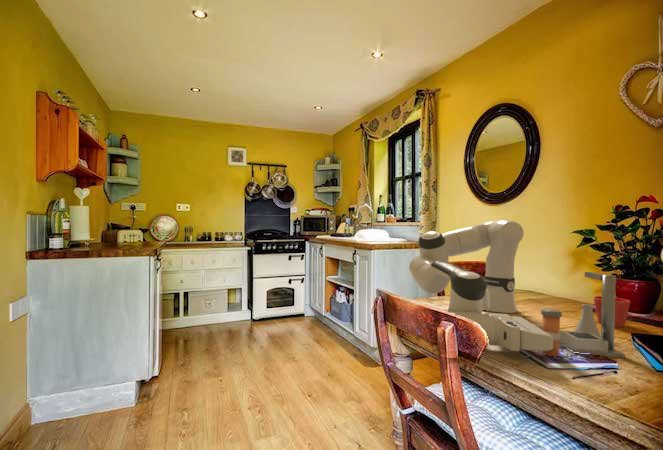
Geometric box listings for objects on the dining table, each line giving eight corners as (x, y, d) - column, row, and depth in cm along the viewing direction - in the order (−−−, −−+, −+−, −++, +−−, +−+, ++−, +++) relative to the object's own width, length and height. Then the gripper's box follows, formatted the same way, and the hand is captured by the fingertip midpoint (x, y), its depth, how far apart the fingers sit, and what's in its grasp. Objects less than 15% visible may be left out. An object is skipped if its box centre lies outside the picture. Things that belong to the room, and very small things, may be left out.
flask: (605, 339, 110) (606, 308, 110) (580, 337, 112) (581, 306, 112) (593, 332, 117) (594, 303, 117) (569, 330, 119) (570, 302, 119)
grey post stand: (573, 354, 96) (576, 276, 96) (547, 337, 110) (549, 269, 111) (625, 357, 94) (627, 278, 94) (591, 340, 109) (593, 271, 109)
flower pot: (586, 319, 135) (587, 294, 136) (618, 321, 133) (619, 296, 133) (602, 326, 125) (603, 300, 125) (636, 329, 123) (637, 302, 123)
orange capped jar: (536, 352, 96) (537, 309, 96) (547, 350, 98) (548, 308, 98) (552, 358, 91) (553, 313, 92) (564, 356, 93) (565, 312, 93)
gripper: (489, 329, 107) (536, 333, 105) (515, 353, 86) (574, 358, 85) (490, 309, 107) (537, 312, 105) (516, 328, 86) (575, 332, 85)
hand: (554, 333), depth 95 cm, fingers closed on orange capped jar, 4 cm apart
